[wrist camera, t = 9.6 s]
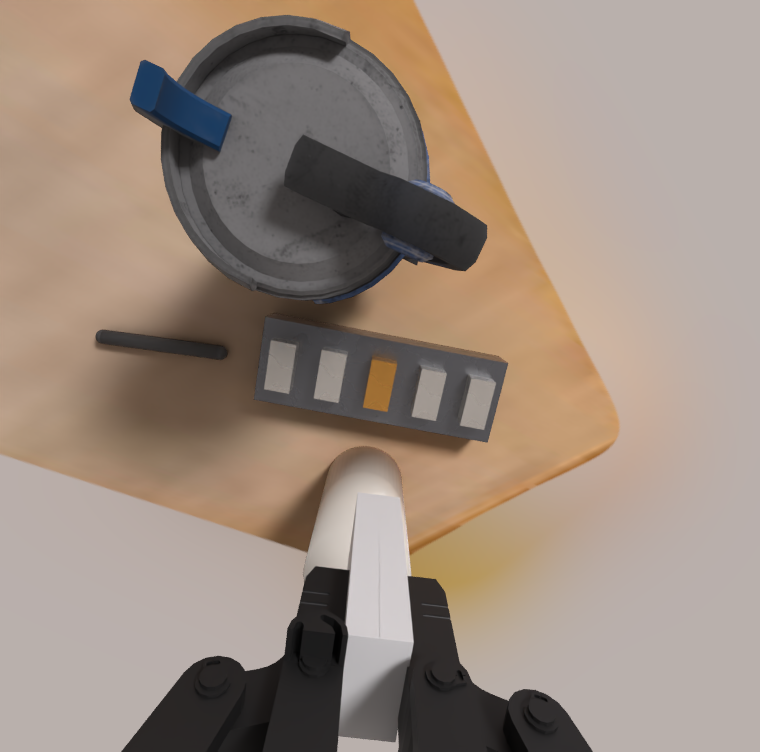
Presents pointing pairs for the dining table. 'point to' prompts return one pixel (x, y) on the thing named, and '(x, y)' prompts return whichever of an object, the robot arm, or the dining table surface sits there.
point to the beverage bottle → (300, 162)
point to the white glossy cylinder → (351, 504)
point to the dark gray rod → (161, 344)
